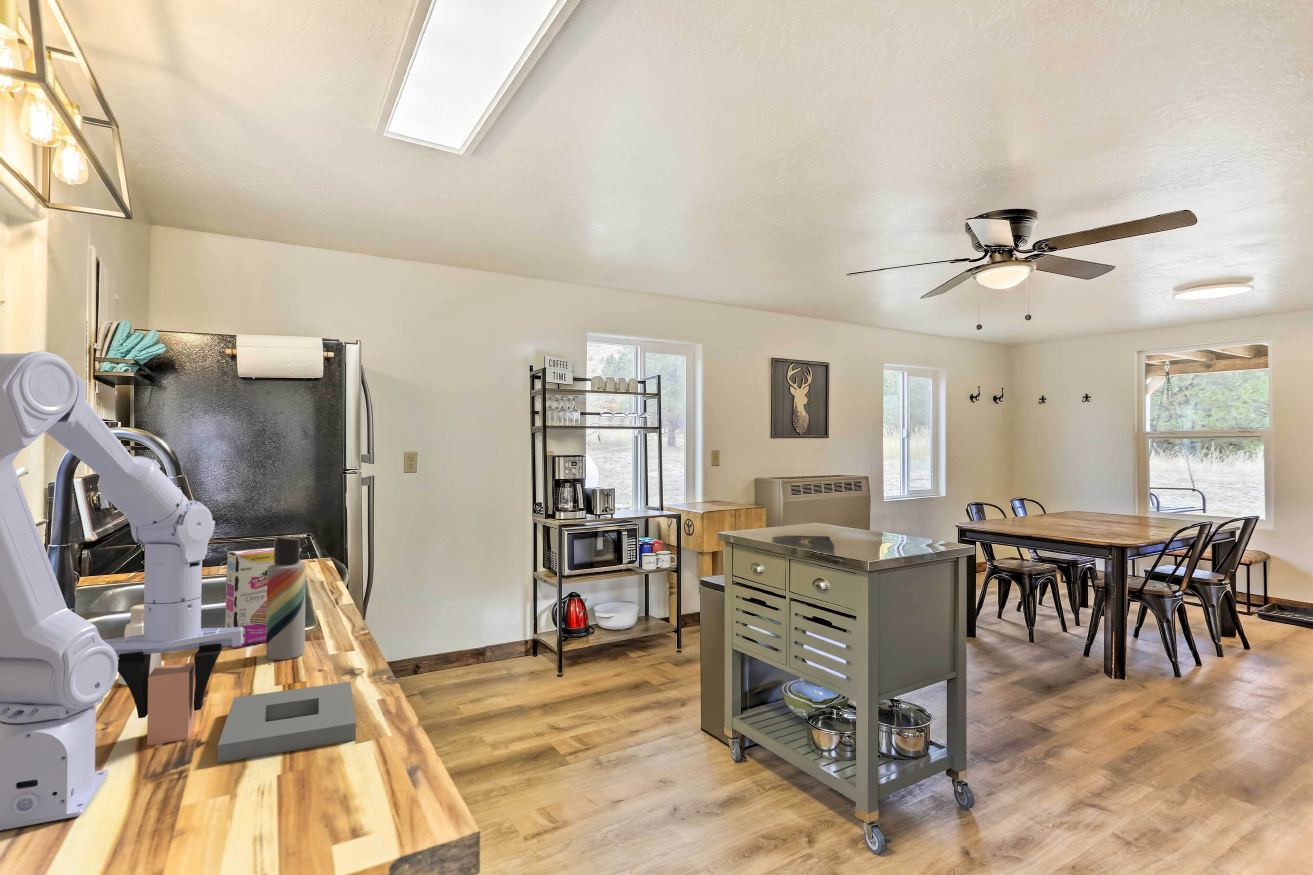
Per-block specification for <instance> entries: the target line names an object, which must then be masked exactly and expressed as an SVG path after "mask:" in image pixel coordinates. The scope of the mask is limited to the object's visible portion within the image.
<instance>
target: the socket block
mask: <svg viewBox="0 0 1313 875" xmlns="http://www.w3.org/2000/svg"><path fill="white" fill-rule="evenodd" d="M352 692H353V689H352V683H351V681H347V682H346V681H344V682H338V683H331V684H323V685H315V686H309V687H308V686H307V687H302V688H292V689H287V690H278V691H272V692H264V693H263V692H262V693H259V694H258V693H255V694H250V695H242V696H241V695H240V696H234V697H233V698H232V703H231V705H230V709H229V710H228V714H227V717H226V720H225V722H224V726H223V728H222V732H221V734H220V737H219V740H218V743H217V764H221V763H228V762H233V761H240V760H245V759H250V758H251V759H252V758H257V757H262V756H269V755H273V754H275V755H276V754H279V753H286V752H291V751H292V752H293V751H298V750H303V749H310V748H315V747H321V746H328V745H332V744H338V743H339V744H340V743H344V741H346V742H351V741H350V740H352V741H356V740H355V739H357V737H356V734H357V733H356V732H357V730H356V728H357V722H356V716H355V715H356V714H355V706H354V700H353V699H354V698H353V693H352Z"/></svg>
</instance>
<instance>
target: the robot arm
mask: <svg viewBox="0 0 1313 875" xmlns="http://www.w3.org/2000/svg"><path fill="white" fill-rule="evenodd" d="M86 396H87V383H86V381H84V380H83V379H82V378H81V377H80V376H78V375H77V374H76V373H75V372H74V370H73V368H72V367H71V365H70V364H69V363H68V362H67V361H66V360H65V359H64V358H62V357H61V356H59V355H57V354H55V353H52V352H49V351H32V352H31V351H30V352H27V353H26V352H25V353H24V352H23V353H17V352H14V353H0V831H4V829H5V830H10V829H11V830H12V829H15V828H21V827H25V826H31V825H38V824H42V823H48V822H53V821H58V820H59V821H60V820H65V819H69V818H74V817H79V816H81V815H82V814H83V813H84V812H85V810H86V809H87V807H88V806H89V804H90V803H91V801H92V799H93V798H94V797H95V795H96V794H97V792H98V790H99V788H100V787H101V786H102V784H103V782H104V781H105V780H106V778H107V776H108V775H109V770H108V769H99V770H96V735H97V734H96V731H97V730H96V726H97V722H96V721H97V705H99V704H101V703H103V702H104V701H103V698H104V697H105V696H106V695H107V693H108V692H109V691H110V690H111V689H112V687H113V684H114V683H115V681H116V678H117V675H119V674H120V675H121V676H122V678H123V679H124V681H125V682H126V684H127V685H126V686H127V687H128V689H129V692H130V693H131V696H132V698H133V701H134V704H135V708H136V712H137V718H138V719H144V718H146V717H148V676H149V670H150V659H151V654H153V653H160V654H161V653H170V652H179V651H180V652H181V651H188V650H189V651H190V650H197V651H196V653H195V654H194V656H193V663H195V669H194V712H195V711H200V710H202V709H203V706H204V701H205V700H204V699H205V695H206V694H205V693H206V690H207V686H208V683H209V679H210V677H211V675H212V674H211V673H212V671H213V669H214V666H215V664H216V662H217V660H218V658H219V656H220V654H221V653H222V651H223V649H224V647H227V646H229V645H231V646H241V645H242V642H243V627H232V628H225V627H206V628H205V627H204V628H202V595H203V594H202V590H203V588H202V585H203V583H202V582H203V581H202V580H203V560H205V558H206V555H207V554H208V546H209V545H208V544H209V542H210V540H211V538H212V536H213V534H214V530H215V526H216V520H213V515H212V513H211V511H210V510H209V508H208V507H207V506H206V505H204V504H203V503H202V502H200V501H197V500H189V499H188V498H187V496H186V495H185V494H184V493H183V491H182V489H180V488H179V487H177V485H175V483H173V482H172V480H171V479H169V477H168V476H167V475H166V474H165V473H164V472H163V471H162V470H161V464H160V463H159V462H158V461H157V460H156V459H150V458H149V457H145V456H139V455H136V456H135V455H134V456H132V454H130V452H129V451H128V450H127V448H125V446H124V445H123V443H121V441H120V440H119V439H118V438H117V436H116V435H115V433H113V431H112V430H111V429H110V428H109V427H108V425H107V424H106V422H105V421H104V420H103V419H102V418H101V417H100V415H99V414H98V413H97V411H96V410H95V409H94V408H93V406H92V405H91V404H90V403H89V402H88V401H87V399H86ZM44 433H46V434H48V435H49V436H50V437H52V438H53V439H54V440H55V441H57V442H58V443H59V444H60V445H61V446H63V447H64V448H65V449H66V450H67V451H69V452H70V453H71V454H72V455H74V456H75V457H76V458H77V459H78V460H79V461H81V462H82V463H83V464H84V465H86V466H87V467H89V469H90V470H92V471H93V472H95V473H96V474H97V475H98V476H99V477H98V481H97V490H98V492H99V494H101V495H102V496H103V497H104V498H105V499H106V500H107V501H109V502H110V504H112V505H113V506H114V507H115V508H116V510H118V511H119V512H121V514H123V515H124V516H125V517H126V518H127V520H126V521H127V522H128V523H129V525H130V532H131V537H132V539H133V540H134V542H135V543H138V544H140V545H141V546H143V547H144V578H143V579H144V580H143V581H144V583H143V585H144V586H143V587H144V589H143V605H144V634H142V635H136V636H129V637H117V638H110V639H102V637H101V635H100V634H99V631H98V628H97V626H96V625H95V624H93V623H91V622H90V621H88V620H86V619H85V618H84V617H82V616H80V615H79V614H77V613H75V612H74V611H72V610H71V609H69V608H68V606H67V603H66V600H65V598H64V596H63V593H62V590H61V588H60V584H59V582H58V579H57V576H56V574H55V571H54V569H53V566H52V564H51V561H50V558H49V556H48V553H47V551H46V547H45V546H44V543H43V540H42V537H41V535H40V532H39V529H38V526H37V524H36V520H35V518H34V516H33V513H32V511H31V508H30V506H29V502H28V501H27V497H26V495H25V492H24V490H23V486H22V484H21V481H20V479H19V476H18V473H17V471H16V468H15V466H14V461H15V459H16V458H17V456H19V454H20V452H21V451H22V450H23V449H26V448H27V447H29V446H30V445H31V444H33V443H34V442H35V441H36V440H37V439H38V438H39V437H41V436H42V435H43V434H44Z"/></svg>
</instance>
